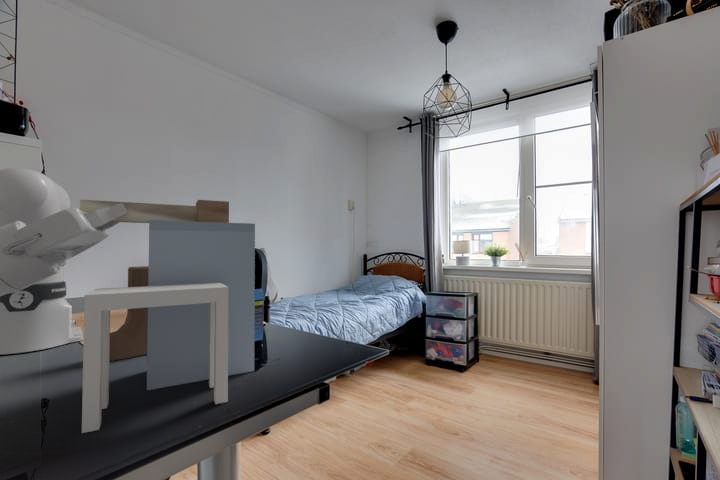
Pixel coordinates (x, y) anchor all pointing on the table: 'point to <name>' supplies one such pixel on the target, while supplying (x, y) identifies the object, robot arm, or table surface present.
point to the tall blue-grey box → (191, 321)
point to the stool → (143, 297)
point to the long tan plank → (164, 211)
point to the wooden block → (132, 323)
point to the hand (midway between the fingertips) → (127, 209)
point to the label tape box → (258, 315)
